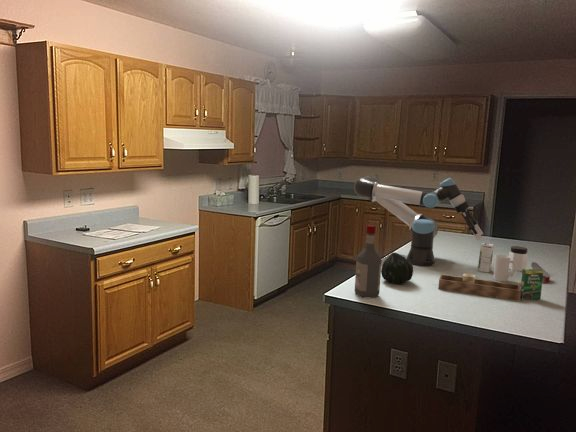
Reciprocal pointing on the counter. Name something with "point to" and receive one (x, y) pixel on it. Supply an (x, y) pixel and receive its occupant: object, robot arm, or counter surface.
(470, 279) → the birch block
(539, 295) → the coffee box
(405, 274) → the squash
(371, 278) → the liquor
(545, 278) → the canned food
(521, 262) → the jar
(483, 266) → the syrup box
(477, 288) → the box
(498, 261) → the mug
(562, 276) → the counter surface
